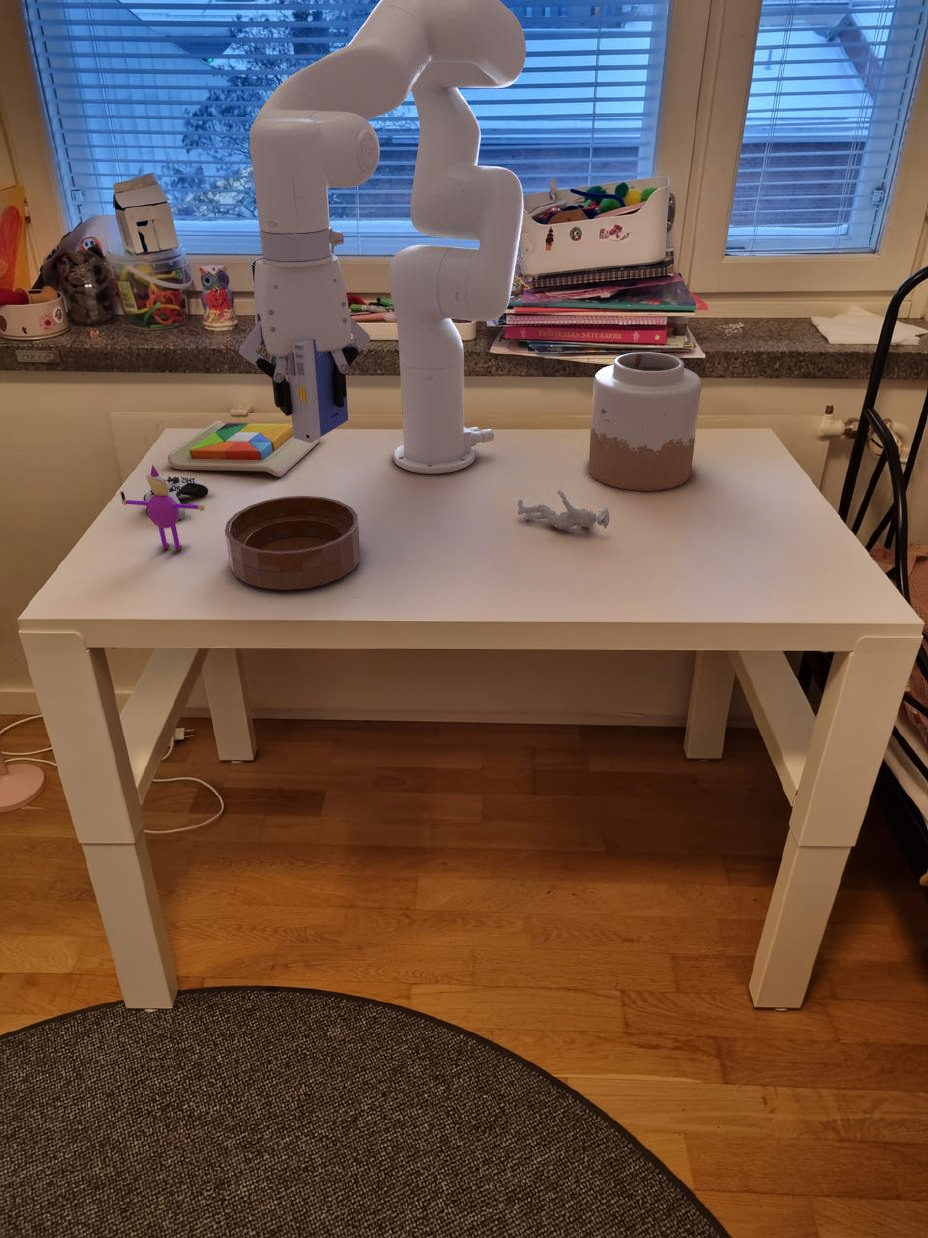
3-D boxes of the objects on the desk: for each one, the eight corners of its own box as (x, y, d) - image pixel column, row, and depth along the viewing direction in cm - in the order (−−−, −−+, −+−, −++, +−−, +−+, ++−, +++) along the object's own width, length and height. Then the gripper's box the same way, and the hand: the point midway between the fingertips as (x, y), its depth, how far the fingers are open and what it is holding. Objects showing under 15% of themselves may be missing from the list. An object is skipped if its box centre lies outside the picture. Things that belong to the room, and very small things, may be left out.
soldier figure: (535, 516, 135) (617, 502, 130) (535, 548, 134) (618, 535, 129) (512, 494, 129) (598, 478, 123) (512, 528, 127) (598, 513, 122)
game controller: (184, 516, 132) (150, 485, 131) (163, 538, 135) (129, 508, 133) (213, 487, 140) (181, 458, 139) (193, 509, 143) (161, 481, 141)
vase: (672, 499, 137) (685, 384, 128) (572, 480, 143) (578, 368, 135) (703, 462, 149) (716, 354, 140) (609, 446, 155) (617, 341, 146)
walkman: (329, 416, 120) (322, 319, 113) (348, 420, 118) (342, 322, 112) (291, 438, 114) (281, 338, 107) (310, 443, 113) (301, 342, 106)
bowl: (338, 524, 131) (334, 487, 129) (378, 576, 119) (376, 536, 116) (219, 548, 126) (212, 509, 123) (248, 605, 113) (242, 564, 110)
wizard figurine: (216, 549, 126) (202, 462, 119) (206, 560, 123) (191, 472, 117) (136, 542, 128) (118, 456, 121) (124, 553, 125) (105, 466, 119)
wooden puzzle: (220, 430, 163) (217, 409, 161) (323, 440, 159) (321, 419, 157) (166, 469, 149) (162, 447, 147) (278, 481, 144) (275, 459, 143)
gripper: (360, 234, 111) (369, 389, 120) (209, 247, 104) (232, 409, 114) (383, 245, 105) (391, 406, 114) (225, 259, 99) (247, 429, 108)
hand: (311, 406), depth 114 cm, fingers closed on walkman, 5 cm apart
